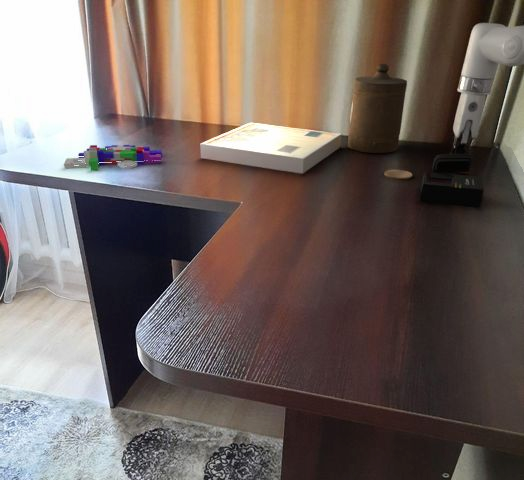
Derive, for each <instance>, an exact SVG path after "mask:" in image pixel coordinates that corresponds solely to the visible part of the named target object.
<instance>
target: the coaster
mask: <svg viewBox="0 0 524 480" xmlns="http://www.w3.org/2000/svg"><path fill="white" fill-rule="evenodd" d="M383 174H384V175H383V176H385V177H386V178H389V179H394V180H408V179H411V178H413V173H412V172H410V171H408V170H404V169H387V170H385V171H384V173H383Z"/></svg>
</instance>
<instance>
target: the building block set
mask: <svg viewBox="0 0 524 480" xmlns="http://www.w3.org/2000/svg"><path fill="white" fill-rule="evenodd" d="M106 148H107V150H106ZM150 148H151V147H150V146H144V145H138V146H136V145H133V144H131V145H130V144H123V145H118V144H115V145H114V144H111V145H107V146H106V145H105V146H104V147H98V144H91V145H89V148H86V150H83V152H78V155H77V156H84V157H68V158H66V159H65V160H64V162H63V166H64V169H83V168H85V169H86V168H87V167H89V168H90V171H91V172H93V171H97V172H98V170H99V167H100V166H117V167H118V168H120V169H123V170H130V169H134V168H136V167H138V166H142V165H146V164H148V165H149V164H162V163H163V162H162V161H154V160H162V157H163V152H162V150H161V149H152V150H151V149H150ZM156 154H161V155H156ZM78 160H82V161H78ZM144 160H145V161H144ZM146 160H148V161H146ZM152 160H153V161H152ZM116 161H121V162H116ZM135 161H144V162H135ZM99 162H112V163H99ZM85 163H86V164H85ZM98 163H99V164H98ZM135 163H137V164H135ZM118 164H120V165H118ZM133 164H135V165H133ZM74 165H79V166H74ZM121 165H123V166H127V167H123V166H121ZM130 165H133V166H130Z"/></svg>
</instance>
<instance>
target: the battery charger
mask: <svg viewBox="0 0 524 480" xmlns="http://www.w3.org/2000/svg"><path fill="white" fill-rule="evenodd" d="M427 176H428V172H427V171H424V172H423V176H422V178H421V179H422V180H421V186H420V196H419V202H420V203H421V202H422V203H431V204H440V205H441V204H442V205H450V206H459V207H470V208H480V206H481V203H482V200H483V196H484V190H485V189H484V185H483V179H482V177H481V176H472V175H467V176H463V175H452V180H450V183H445V182H444V183H443V182H433V181H427V180H428V179H427V178H428V177H427Z"/></svg>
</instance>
